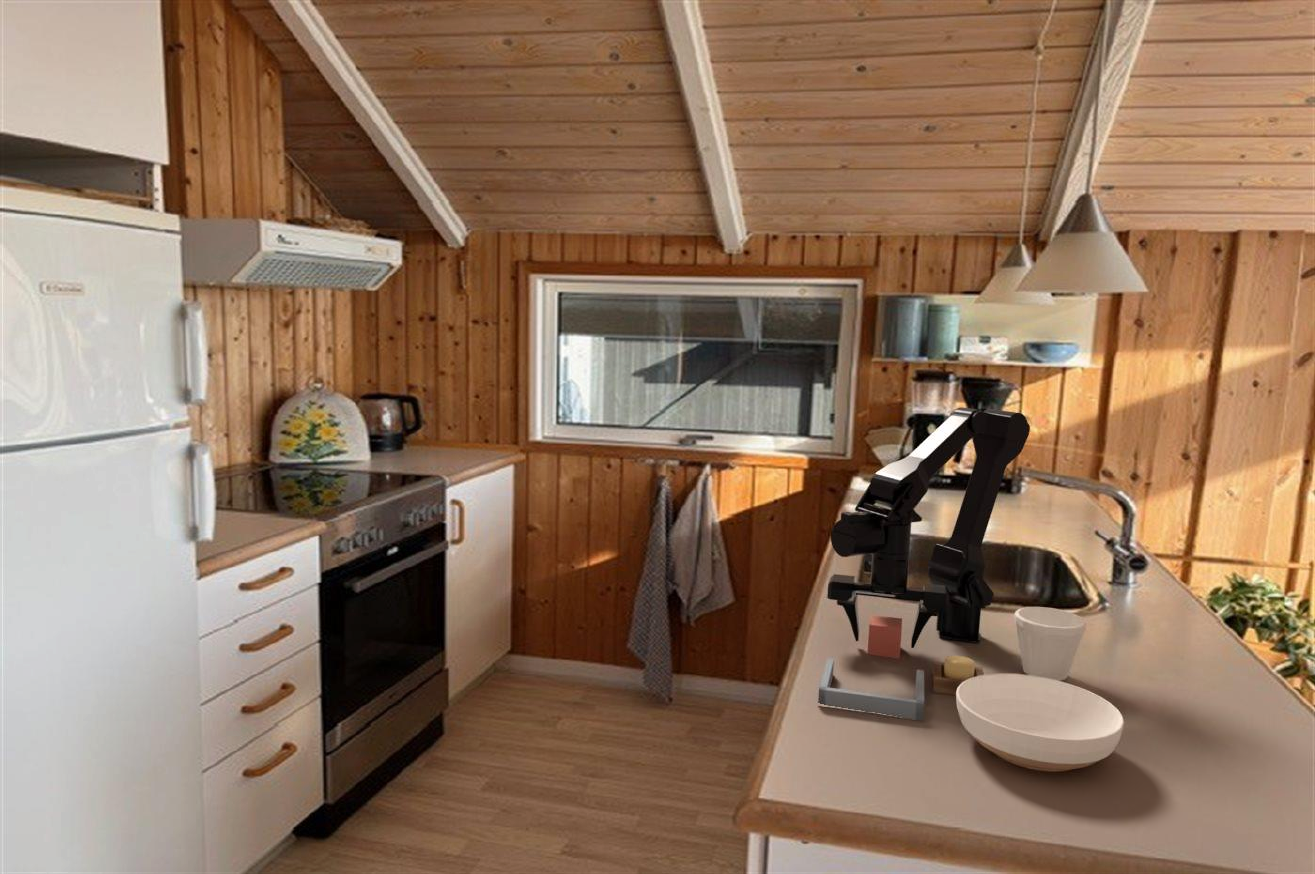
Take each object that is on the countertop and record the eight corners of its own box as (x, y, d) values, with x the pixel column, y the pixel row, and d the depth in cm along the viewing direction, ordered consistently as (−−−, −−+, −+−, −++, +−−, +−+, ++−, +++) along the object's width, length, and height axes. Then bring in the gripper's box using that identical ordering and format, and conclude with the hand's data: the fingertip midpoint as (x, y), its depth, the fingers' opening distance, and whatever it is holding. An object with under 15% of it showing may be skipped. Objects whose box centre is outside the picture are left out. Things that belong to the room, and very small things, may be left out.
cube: (900, 647, 151) (902, 618, 150) (899, 658, 146) (901, 628, 145) (868, 644, 152) (870, 614, 151) (867, 654, 147) (869, 624, 147)
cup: (1013, 658, 147) (1017, 602, 146) (1081, 670, 143) (1087, 613, 142) (1006, 679, 139) (1011, 620, 137) (1079, 693, 134) (1085, 632, 133)
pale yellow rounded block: (972, 678, 137) (974, 657, 137) (974, 689, 133) (975, 668, 133) (943, 674, 138) (944, 654, 138) (943, 685, 134) (945, 664, 134)
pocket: (922, 686, 135) (923, 670, 135) (923, 721, 124) (924, 703, 123) (826, 673, 139) (827, 657, 138) (817, 706, 127) (818, 688, 127)
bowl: (1156, 778, 110) (1162, 730, 109) (1018, 798, 105) (1022, 747, 104) (1045, 709, 129) (1049, 667, 128) (922, 723, 123) (926, 679, 122)
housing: (981, 680, 138) (982, 667, 138) (984, 698, 131) (985, 685, 131) (932, 673, 140) (933, 661, 140) (933, 691, 133) (934, 678, 133)
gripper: (950, 543, 152) (943, 634, 154) (835, 532, 157) (830, 621, 159) (952, 560, 141) (945, 658, 143) (829, 548, 146) (824, 643, 148)
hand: (884, 643), depth 149 cm, fingers open, 8 cm apart
